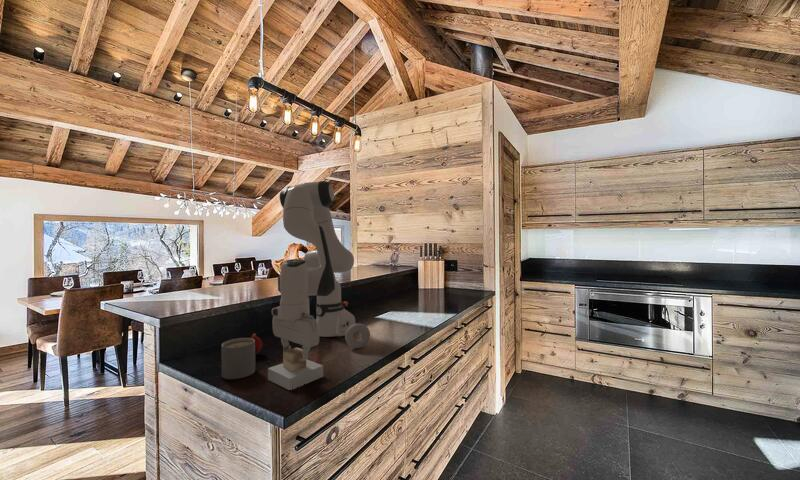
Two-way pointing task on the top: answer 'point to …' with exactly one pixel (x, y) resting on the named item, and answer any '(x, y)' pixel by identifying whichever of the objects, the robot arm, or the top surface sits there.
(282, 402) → the top surface
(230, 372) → the coffee mug
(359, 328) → the donut
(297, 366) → the maple cube
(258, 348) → the onion
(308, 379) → the painted block
